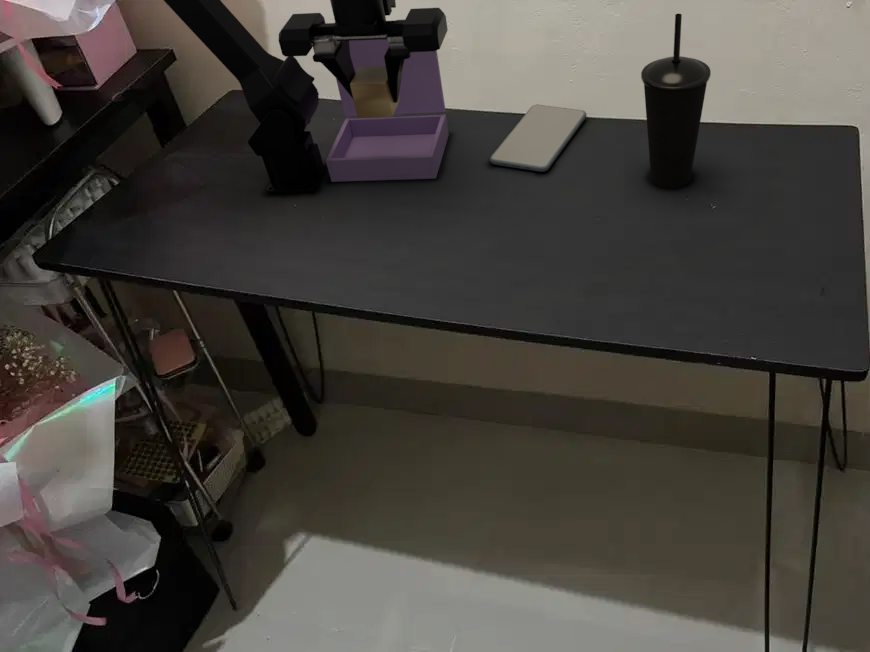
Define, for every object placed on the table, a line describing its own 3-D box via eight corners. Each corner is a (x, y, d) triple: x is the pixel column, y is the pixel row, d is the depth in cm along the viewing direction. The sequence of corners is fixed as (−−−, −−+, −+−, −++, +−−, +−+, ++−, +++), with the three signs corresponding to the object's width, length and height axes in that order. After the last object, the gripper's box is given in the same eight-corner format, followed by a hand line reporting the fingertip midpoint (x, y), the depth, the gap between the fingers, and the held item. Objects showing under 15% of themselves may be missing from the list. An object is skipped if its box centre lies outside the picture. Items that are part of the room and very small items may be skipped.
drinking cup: (632, 190, 102) (633, 27, 88) (648, 158, 107) (652, -2, 93) (694, 198, 100) (706, 32, 85) (708, 164, 104) (721, 2, 90)
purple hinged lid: (431, 22, 106) (437, 10, 109) (324, 28, 108) (333, 16, 111) (444, 112, 114) (450, 98, 117) (344, 116, 116) (352, 102, 119)
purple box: (436, 178, 109) (432, 156, 106) (331, 181, 111) (325, 160, 108) (449, 134, 116) (445, 113, 114) (351, 138, 118) (345, 117, 116)
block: (357, 118, 101) (349, 84, 98) (366, 100, 105) (358, 67, 101) (392, 117, 101) (385, 82, 98) (400, 100, 104) (393, 65, 101)
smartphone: (487, 159, 109) (533, 103, 118) (488, 165, 110) (533, 109, 119) (546, 168, 106) (588, 110, 115) (546, 175, 107) (588, 116, 116)
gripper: (446, -63, 95) (463, 69, 106) (291, -54, 98) (323, 73, 109) (427, -26, 87) (447, 112, 98) (259, -18, 90) (297, 115, 101)
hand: (377, 101), depth 102 cm, fingers closed on block, 4 cm apart
